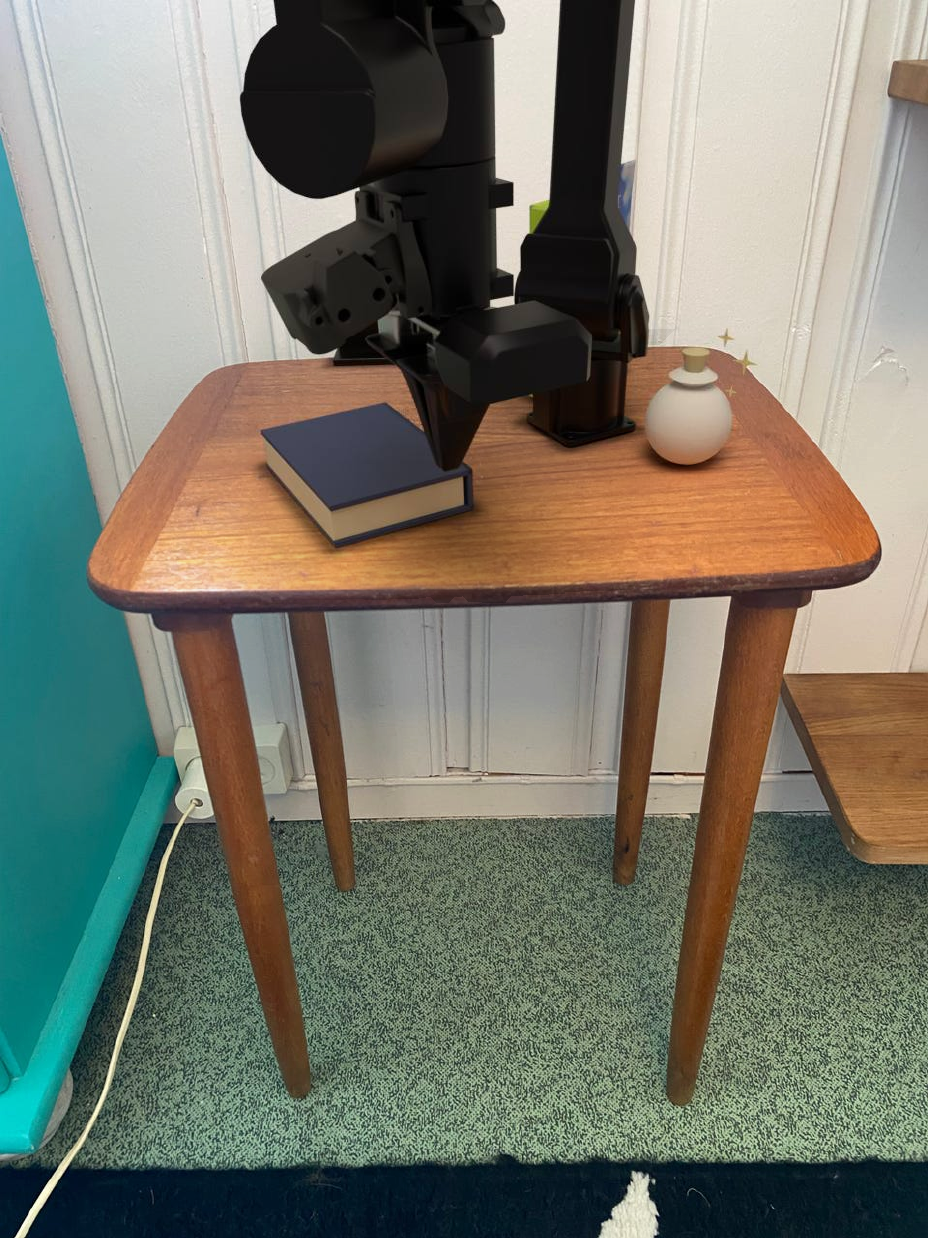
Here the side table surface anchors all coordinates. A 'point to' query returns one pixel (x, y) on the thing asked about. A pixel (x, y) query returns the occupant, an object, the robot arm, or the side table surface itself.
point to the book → (364, 473)
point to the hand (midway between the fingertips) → (448, 468)
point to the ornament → (690, 411)
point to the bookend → (359, 350)
